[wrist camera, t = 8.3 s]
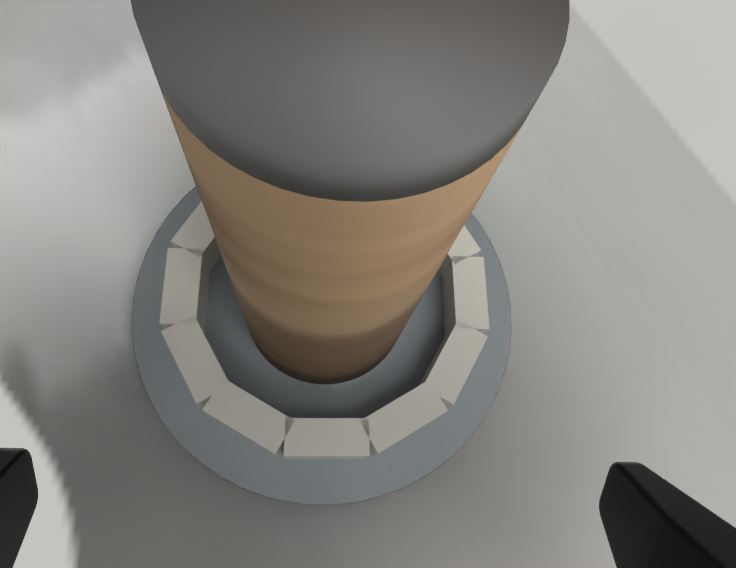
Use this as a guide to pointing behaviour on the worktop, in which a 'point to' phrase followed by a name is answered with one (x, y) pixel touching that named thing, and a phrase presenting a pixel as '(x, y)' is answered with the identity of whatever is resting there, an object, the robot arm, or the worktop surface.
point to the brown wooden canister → (344, 150)
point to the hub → (315, 401)
